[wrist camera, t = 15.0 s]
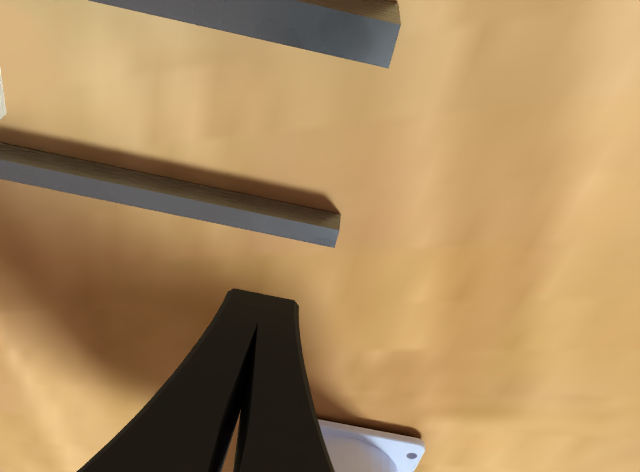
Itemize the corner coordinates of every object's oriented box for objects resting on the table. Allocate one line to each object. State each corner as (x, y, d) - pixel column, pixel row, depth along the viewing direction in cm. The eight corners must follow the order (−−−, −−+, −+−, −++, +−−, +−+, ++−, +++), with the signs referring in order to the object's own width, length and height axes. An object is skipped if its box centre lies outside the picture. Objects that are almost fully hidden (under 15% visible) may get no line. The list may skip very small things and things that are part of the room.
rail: (335, 231, 22) (331, 284, 20) (-142, 131, 21) (-209, 175, 19) (398, 3, 17) (402, 37, 15) (-225, -143, 16) (-331, -132, 14)
